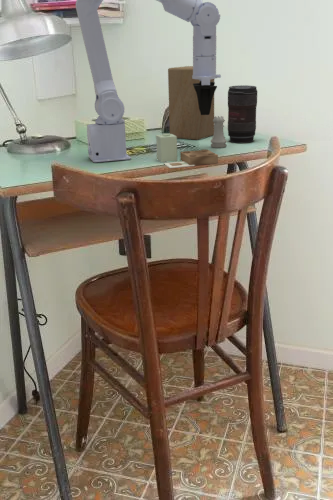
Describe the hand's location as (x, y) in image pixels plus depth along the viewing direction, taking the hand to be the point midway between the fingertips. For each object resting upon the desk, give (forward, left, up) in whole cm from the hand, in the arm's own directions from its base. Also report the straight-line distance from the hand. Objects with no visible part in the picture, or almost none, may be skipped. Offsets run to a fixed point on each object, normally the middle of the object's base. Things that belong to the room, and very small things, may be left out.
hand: (204, 112), depth 137 cm
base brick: (-6, -11, -10) cm, 16 cm away
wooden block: (+5, +24, -10) cm, 26 cm away
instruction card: (-11, -13, -10) cm, 19 cm away
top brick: (-12, -6, -10) cm, 17 cm away
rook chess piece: (+6, +5, -10) cm, 13 cm away
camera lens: (+15, +10, -10) cm, 21 cm away
